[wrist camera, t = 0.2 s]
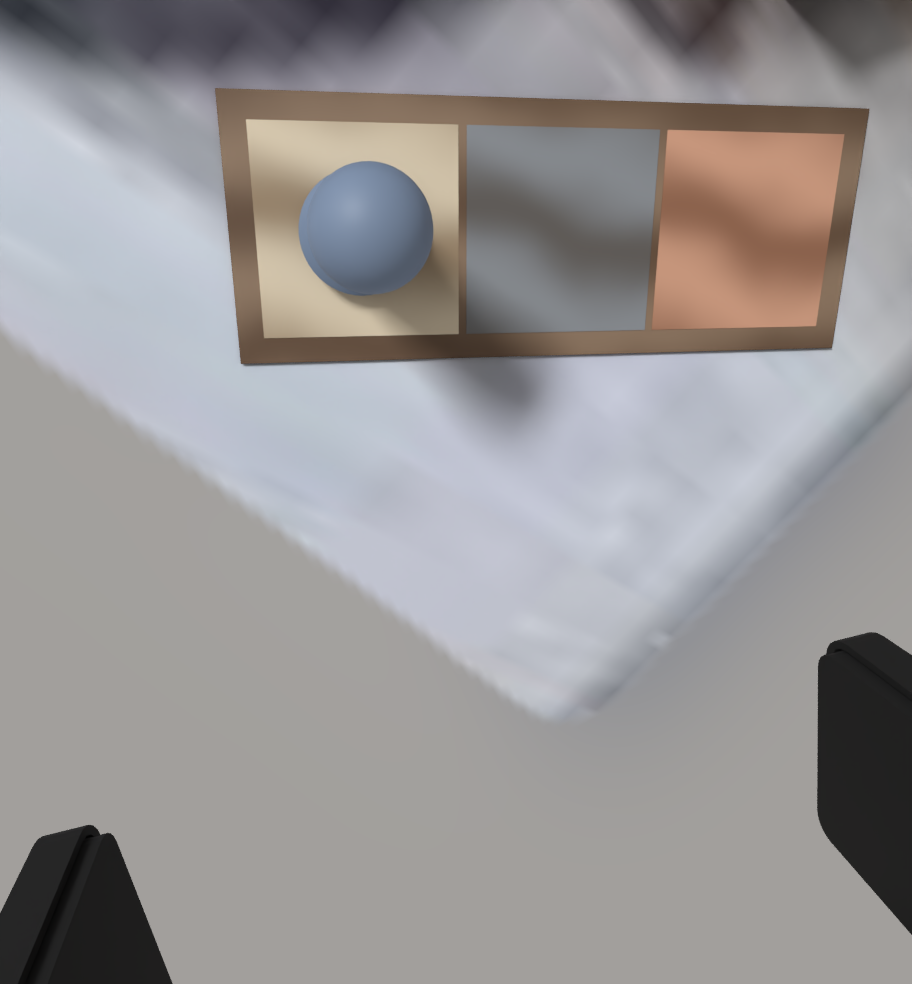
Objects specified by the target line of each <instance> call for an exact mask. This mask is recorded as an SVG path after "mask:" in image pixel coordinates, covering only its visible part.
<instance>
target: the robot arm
mask: <svg viewBox="0 0 912 984" xmlns="http://www.w3.org/2000/svg"><path fill="white" fill-rule="evenodd" d="M817 792H818V793H817V796H818V797H817V798H818V799H817V804H818V805H817V808H818V809H817V810H818V817H819V821H820V824H821V826H822V829H823V831H824V832H825V834H826V836H827V837H828V839H829V840H830V841H831V843H832V844H833V845H834V846H835V847H836V848H837V850H838V851H839V852H840V853H841V854H842V855H843V856H844V858H845V859H846V860H847V861H848V862H849V863H850V864H851V866H852V867H853V868H854V869H855V870H856V871H857V872H858V874H859V875H860V876H861V877H862V878H863V879H864V881H865V882H866V883H867V884H868V885H869V886H870V887H871V888H872V890H873V891H874V892H875V893H876V894H877V895H878V896H879V898H880V899H881V900H882V901H883V902H884V903H885V905H886V906H887V907H888V908H889V909H890V910H891V911H892V912H893V914H894V915H895V916H896V917H897V918H898V919H899V921H900V922H901V923H902V924H903V925H904V926H905V927H906V929H907V930H908V931H909V932H910V933H911V934H912V655H911V654H909V653H908V652H906V651H905V650H903V649H902V648H900V647H899V646H897V645H896V644H894V643H893V642H891V641H890V640H888V639H887V638H885V637H884V636H882V635H880V634H878V633H872V632H871V633H865V634H861V635H858V636H854V637H849V638H845V639H842V640H837V641H834V642H832V643H830V645H829V646H828V648H827V653H826V655H824V656H822V657H821V658H820V660H819V663H818V789H817ZM0 984H172V981H171V979H170V976H169V974H168V971H167V969H166V966H165V964H164V961H163V958H162V956H161V953H160V951H159V948H158V946H157V943H156V941H155V938H154V936H153V933H152V930H151V928H150V926H149V923H148V920H147V918H146V915H145V913H144V910H143V908H142V905H141V902H140V900H139V898H138V895H137V892H136V890H135V887H134V885H133V882H132V880H131V877H130V875H129V872H128V869H127V867H126V864H125V862H124V859H123V857H122V854H121V852H120V849H119V847H118V844H117V841H116V840H115V838H114V836H113V835H112V834H111V833H106V834H102V835H100V833H99V831H98V830H97V829H96V828H95V827H94V826H92V825H86V826H83V827H78V828H74V829H70V830H66V831H62V832H58V833H54V834H50V835H46V836H42V837H41V838H39V839H38V840H37V841H36V843H35V844H34V846H33V847H32V849H31V851H30V853H29V856H28V858H27V860H26V862H25V864H24V866H23V868H22V870H21V872H20V874H19V876H18V878H17V880H16V882H15V884H14V887H13V888H12V890H11V892H10V894H9V896H8V899H7V901H6V903H5V905H4V907H3V909H2V911H1V913H0Z"/></svg>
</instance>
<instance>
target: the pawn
mask: <svg viewBox="0 0 912 984" xmlns="http://www.w3.org/2000/svg"><path fill="white" fill-rule="evenodd" d="M299 240H300V245H301V249H302V252H303V254H304V257H305V259H306V261H307V262H308V264H309V266H310V267H311V269H312V270H313V272H314V273H315V274H316V275H317V276H318V277H319V278H320V279H321V280H322V281H323V282H325V283H326V284H327V285H329V286H330V287H332V288H334V289H336V290H338V291H340V292H343V293H346V294H351V295H358V296H366V295H373V294H383V293H387V292H391V291H394V290H396V289H398V288H400V287H402V286H404V285H405V284H407V283H408V282H410V281H411V280H412V279H413V278H414V277H415V276H416V275H417V274H418V273H419V271H420V270H421V269H422V267H423V266H424V264H425V262H426V260H427V258H428V256H429V253H430V250H431V247H432V241H433V219H432V214H431V210H430V207H429V204H428V202H427V200H426V198H425V196H424V194H423V193H422V191H421V189H420V188H419V187H418V186H417V184H416V183H415V182H414V181H413V180H412V179H411V178H410V177H409V176H408V175H406V174H405V173H404V172H402V171H401V170H399V169H397V168H395V167H393V166H391V165H388V164H385V163H381V162H375V161H360V162H355V163H351V164H348V165H345V166H343V167H341V168H339V169H337V170H336V171H334V172H333V173H332V174H330V175H328V176H326V177H325V178H323V179H322V180H321V181H319V182H318V183H317V184H316V185H315V186H314V188H313V189H312V190H311V191H310V193H309V194H308V196H307V198H306V200H305V202H304V204H303V206H302V209H301V213H300V218H299Z"/></svg>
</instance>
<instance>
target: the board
mask: <svg viewBox="0 0 912 984" xmlns="http://www.w3.org/2000/svg"><path fill="white" fill-rule="evenodd" d="M215 92H216V103H217V114H218V124H219V135H220V145H221V156H222V167H223V177H224V188H225V199H226V209H227V220H228V231H229V241H230V252H231V262H232V273H233V284H234V294H235V305H236V316H237V326H238V337H239V348H240V358H241V364H248V363H285V362H322V361H359V360H395V359H432V358H469V357H506V356H542V355H579V354H616V353H652V352H689V351H726V350H763V349H799V348H832V343H833V337H834V330H835V324H836V318H837V311H838V305H839V298H840V292H841V286H842V279H843V273H844V267H845V260H846V254H847V248H848V241H849V235H850V228H851V222H852V216H853V209H854V203H855V197H856V190H857V184H858V177H859V171H860V165H861V158H862V152H863V146H864V139H865V133H866V126H867V120H868V114H869V109H860V108H828V107H796V106H764V105H732V104H701V103H669V102H637V101H605V100H573V99H541V98H509V97H478V96H446V95H414V94H382V93H350V92H318V91H286V90H255V89H223V88H215ZM360 161H375V162H381V163H385V164H388V165H391V166H393V167H395V168H397V169H399V170H401V171H402V172H404V173H405V174H406V175H408V176H409V177H410V178H411V179H412V180H413V181H414V182H415V183H416V184H417V186H418V187H419V188H420V189H421V191H422V193H423V194H424V196H425V198H426V200H427V202H428V204H429V207H430V210H431V214H432V219H433V241H432V247H431V250H430V253H429V256H428V258H427V260H426V262H425V264H424V266H423V267H422V269H421V270H420V271H419V273H418V274H417V275H416V276H415V277H414V278H413V279H412V280H411V281H410V282H408V283H407V284H405V285H404V286H402V287H400V288H398V289H396V290H394V291H391V292H387V293H383V294H373V295H366V296H358V295H351V294H346V293H343V292H340V291H338V290H336V289H334V288H332V287H330V286H329V285H327V284H326V283H325V282H323V281H322V280H321V279H320V278H319V277H318V276H317V275H316V274H315V273H314V272H313V270H312V269H311V267H310V266H309V264H308V262H307V261H306V259H305V257H304V254H303V252H302V249H301V245H300V240H299V218H300V213H301V209H302V206H303V204H304V202H305V200H306V198H307V196H308V194H309V193H310V191H311V190H312V189H313V188H314V186H315V185H316V184H317V183H318V182H319V181H321V180H322V179H323V178H325V177H326V176H328V175H330V174H332V173H333V172H334V171H336V170H337V169H339V168H341V167H343V166H345V165H348V164H351V163H355V162H360Z"/></svg>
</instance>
